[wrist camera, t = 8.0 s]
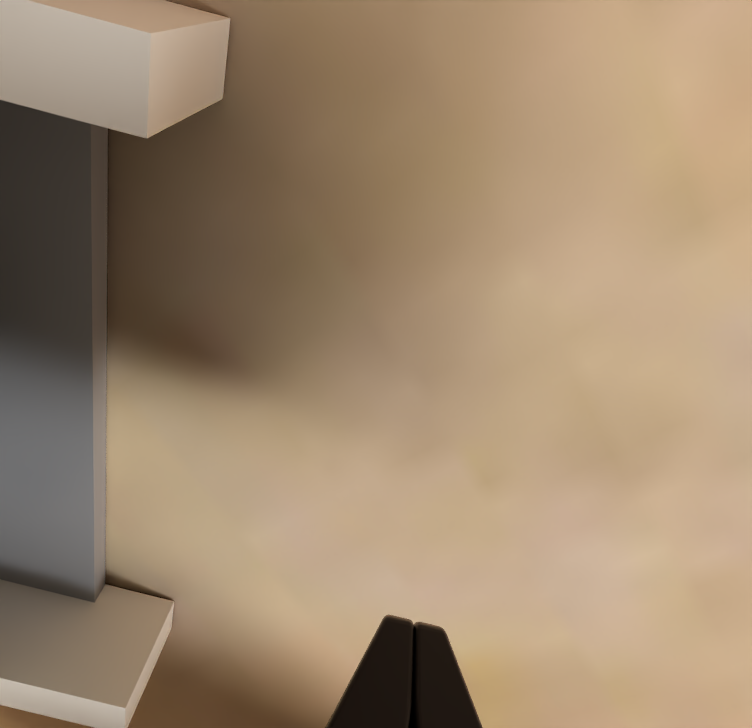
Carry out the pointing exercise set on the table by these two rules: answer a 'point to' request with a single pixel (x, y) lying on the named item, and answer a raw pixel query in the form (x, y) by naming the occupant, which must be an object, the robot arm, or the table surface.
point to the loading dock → (74, 334)
